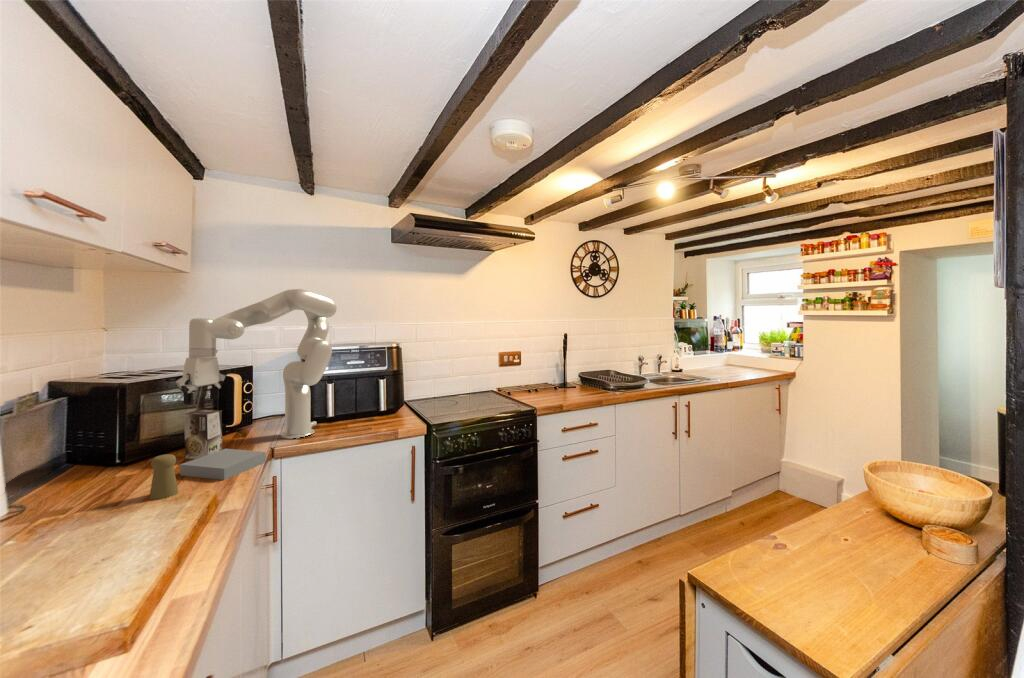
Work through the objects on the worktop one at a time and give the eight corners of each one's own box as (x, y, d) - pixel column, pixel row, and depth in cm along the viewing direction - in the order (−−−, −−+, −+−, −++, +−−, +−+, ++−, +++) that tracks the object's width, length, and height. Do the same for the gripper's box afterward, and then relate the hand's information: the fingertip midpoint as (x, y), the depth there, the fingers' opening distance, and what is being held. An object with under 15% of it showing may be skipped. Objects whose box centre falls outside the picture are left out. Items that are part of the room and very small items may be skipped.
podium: (225, 458, 138) (225, 448, 138) (265, 462, 135) (265, 452, 135) (180, 475, 122) (180, 464, 122) (224, 480, 119) (224, 468, 119)
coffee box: (223, 454, 142) (222, 410, 141) (207, 460, 136) (207, 414, 135) (200, 452, 143) (199, 409, 142) (183, 458, 136) (183, 413, 136)
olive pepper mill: (168, 498, 106) (168, 459, 106) (143, 500, 105) (142, 459, 105) (183, 489, 112) (183, 451, 112) (159, 490, 111) (159, 452, 111)
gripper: (215, 351, 147) (215, 397, 147) (168, 354, 130) (167, 405, 130) (233, 352, 146) (232, 398, 146) (187, 355, 129) (186, 407, 129)
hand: (201, 401), depth 138 cm, fingers open, 9 cm apart
